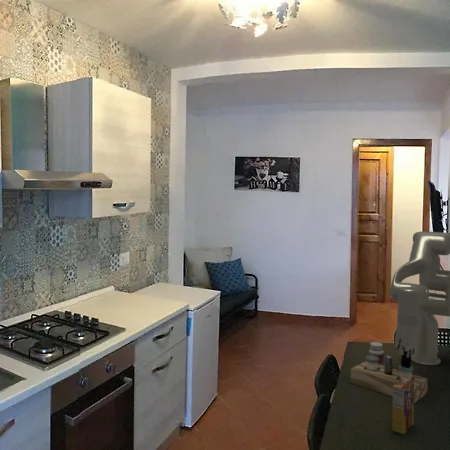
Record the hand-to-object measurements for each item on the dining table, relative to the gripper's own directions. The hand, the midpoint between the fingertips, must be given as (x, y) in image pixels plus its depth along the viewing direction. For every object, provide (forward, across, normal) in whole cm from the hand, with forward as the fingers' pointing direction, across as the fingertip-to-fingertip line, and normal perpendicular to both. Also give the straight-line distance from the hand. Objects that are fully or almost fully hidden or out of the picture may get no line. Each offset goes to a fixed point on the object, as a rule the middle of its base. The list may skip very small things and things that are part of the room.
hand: (405, 366), depth 184 cm
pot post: (+5, 0, -7) cm, 9 cm away
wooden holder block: (+11, 0, -7) cm, 13 cm away
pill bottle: (+11, -15, -20) cm, 28 cm away
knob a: (+8, 0, -14) cm, 16 cm away
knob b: (+8, 0, 0) cm, 8 cm away
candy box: (+11, +26, +11) cm, 30 cm away
